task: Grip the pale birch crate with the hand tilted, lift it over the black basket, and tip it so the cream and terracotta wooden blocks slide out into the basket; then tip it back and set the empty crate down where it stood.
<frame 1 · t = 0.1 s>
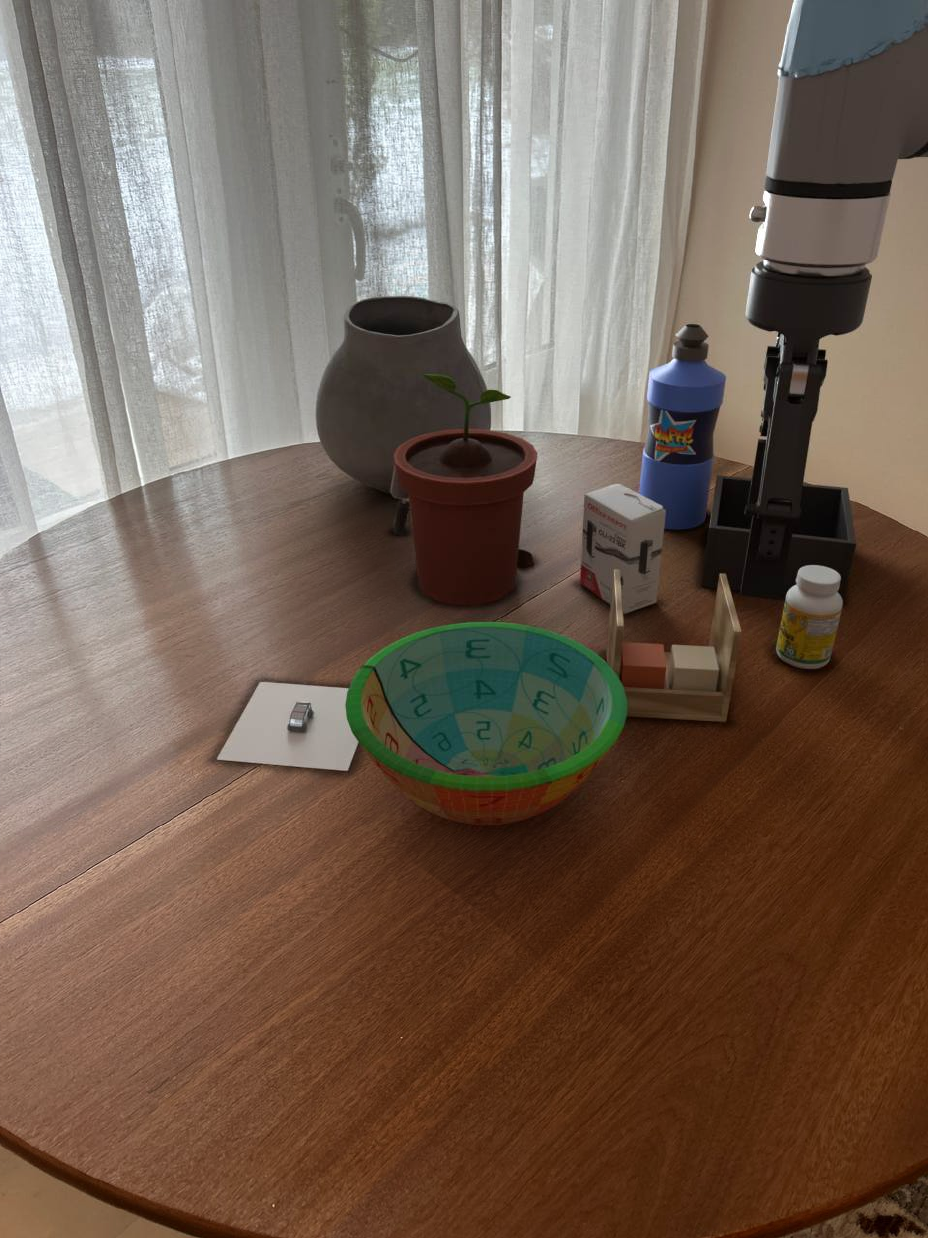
hand: (761, 553, 72), 20 cm above the table, tool pointing down, fingers open, 13 cm apart
ceramic pot: (406, 484, 135), on the table
terracotta block: (639, 688, 90), point 1 cm above the table, touching crate
white square sheet: (301, 725, 87), on the table
water bottle: (670, 516, 125), on the table
bowl: (485, 789, 79), on the table
ink box: (616, 594, 107), on the table
basket: (770, 564, 113), on the table
cream block: (690, 691, 90), point 1 cm above the table, touching crate
crate: (663, 686, 91), on the table, touching cream block, terracotta block
potted plant: (461, 570, 112), on the table
supplement bottle: (801, 657, 96), on the table
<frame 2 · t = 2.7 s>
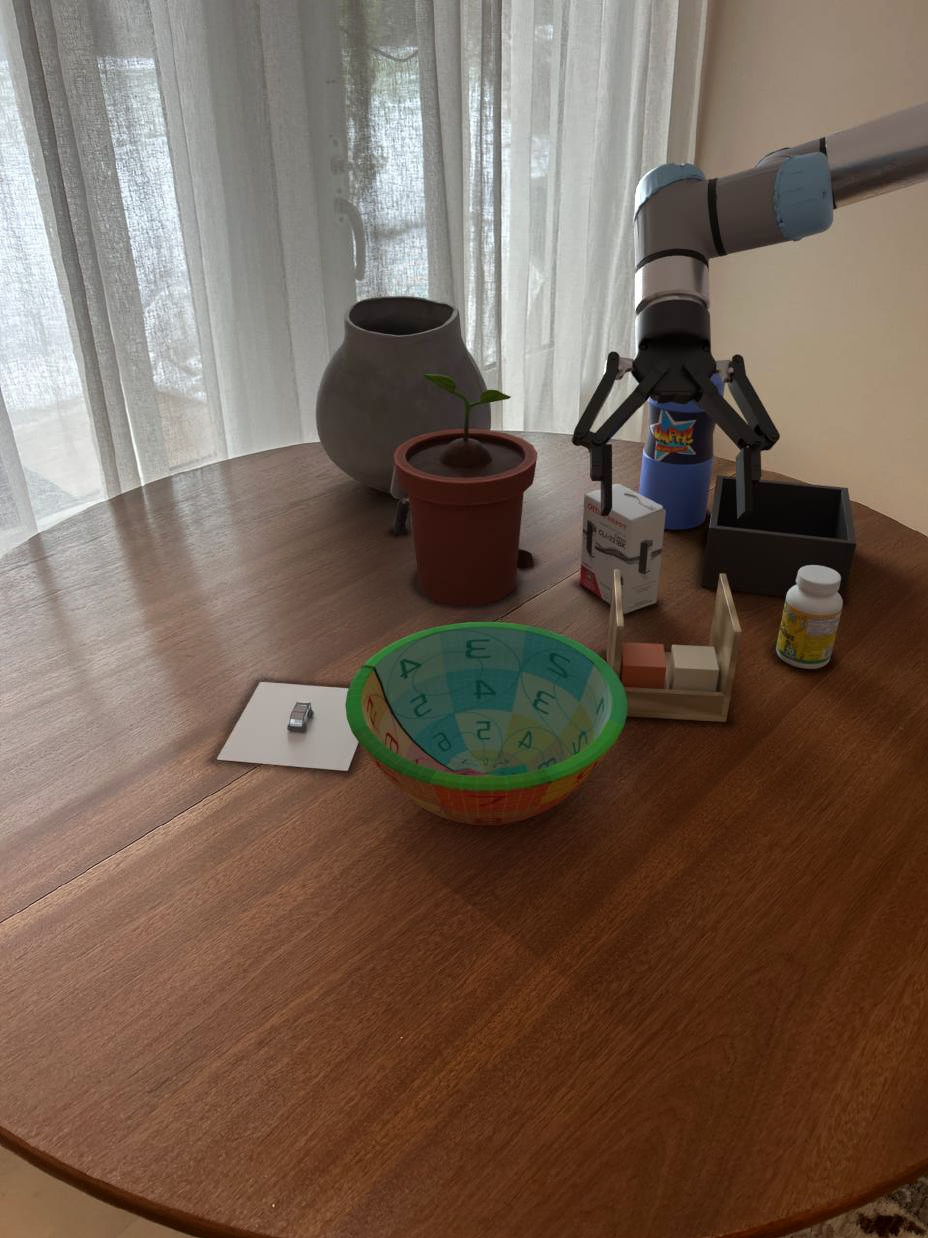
hand: (675, 513, 91), 15 cm above the table, tool tilted 45°, fingers open, 13 cm apart
nothing on the table moved.
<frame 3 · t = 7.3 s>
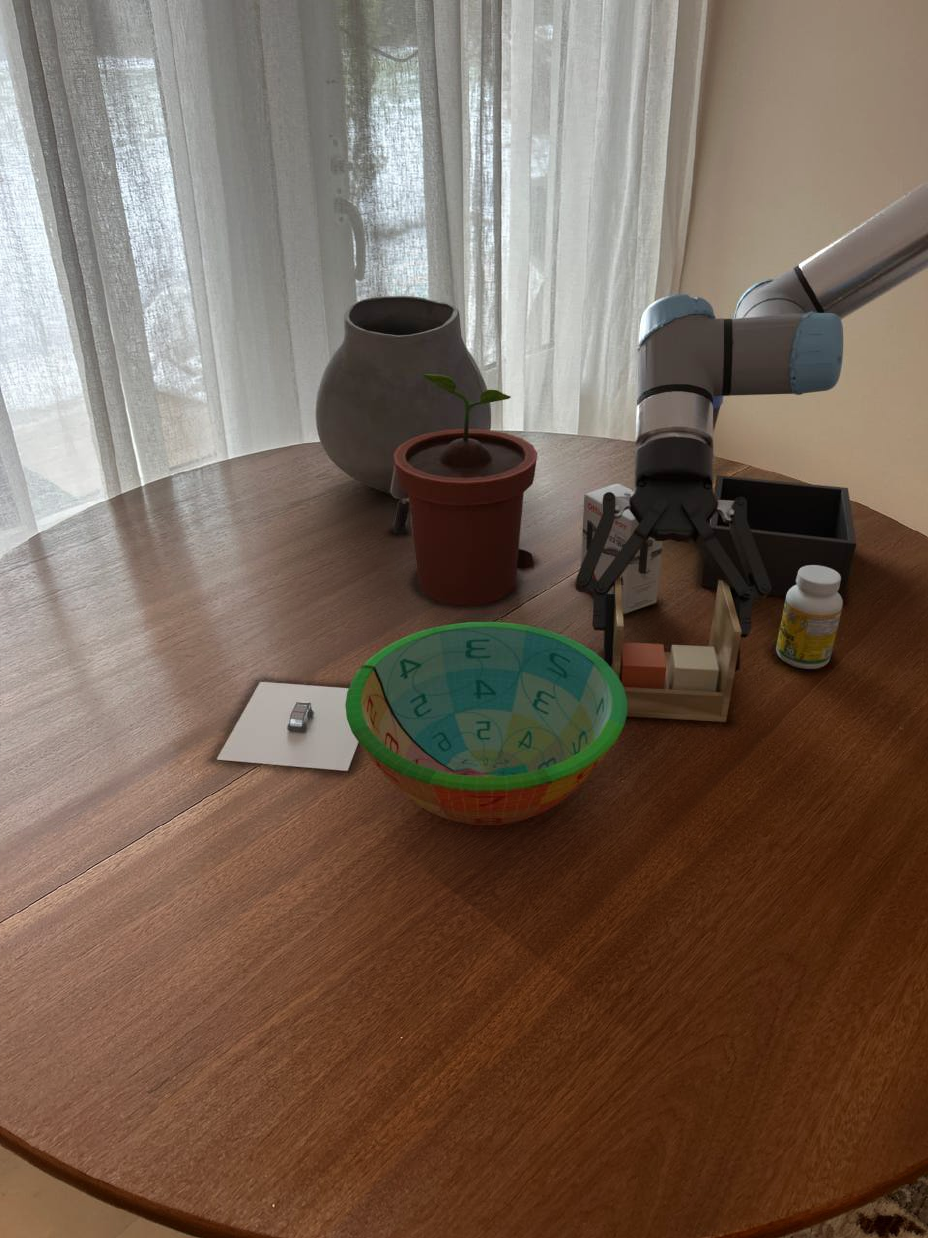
hand: (669, 667, 87), 4 cm above the table, tool tilted 45°, fingers closed on crate, 11 cm apart
crate: (663, 686, 91), on the table, touching cream block, gripper, terracotta block
everything else where it was.
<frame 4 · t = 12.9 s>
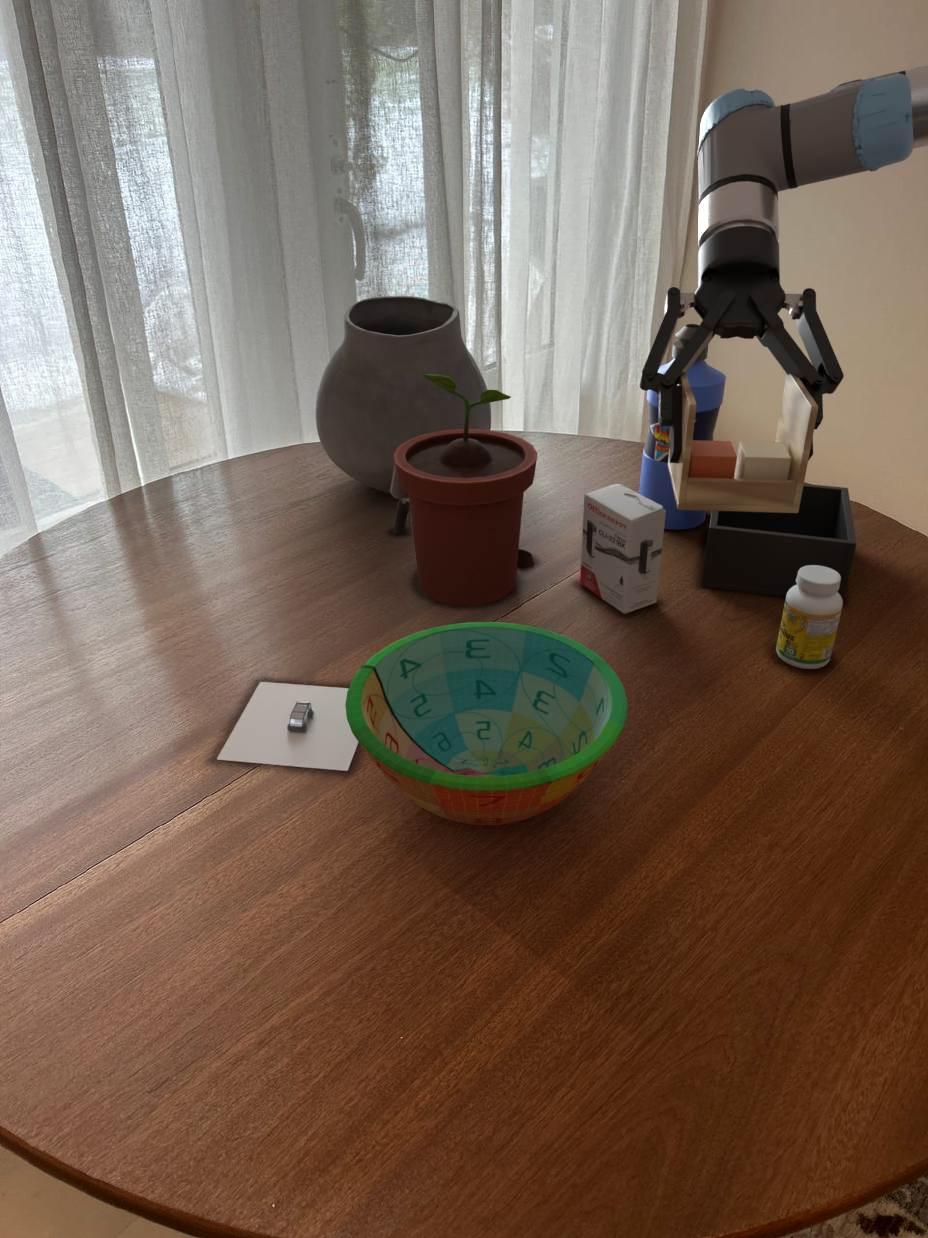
hand: (739, 458, 85), 22 cm above the table, tool tilted 45°, fingers closed on crate, 11 cm apart
terracotta block: (706, 488, 88), point 18 cm above the table, touching crate
cream block: (758, 489, 87), point 18 cm above the table, touching crate
crate: (729, 488, 89), point 17 cm above the table, touching cream block, gripper, terracotta block
everything else where it was.
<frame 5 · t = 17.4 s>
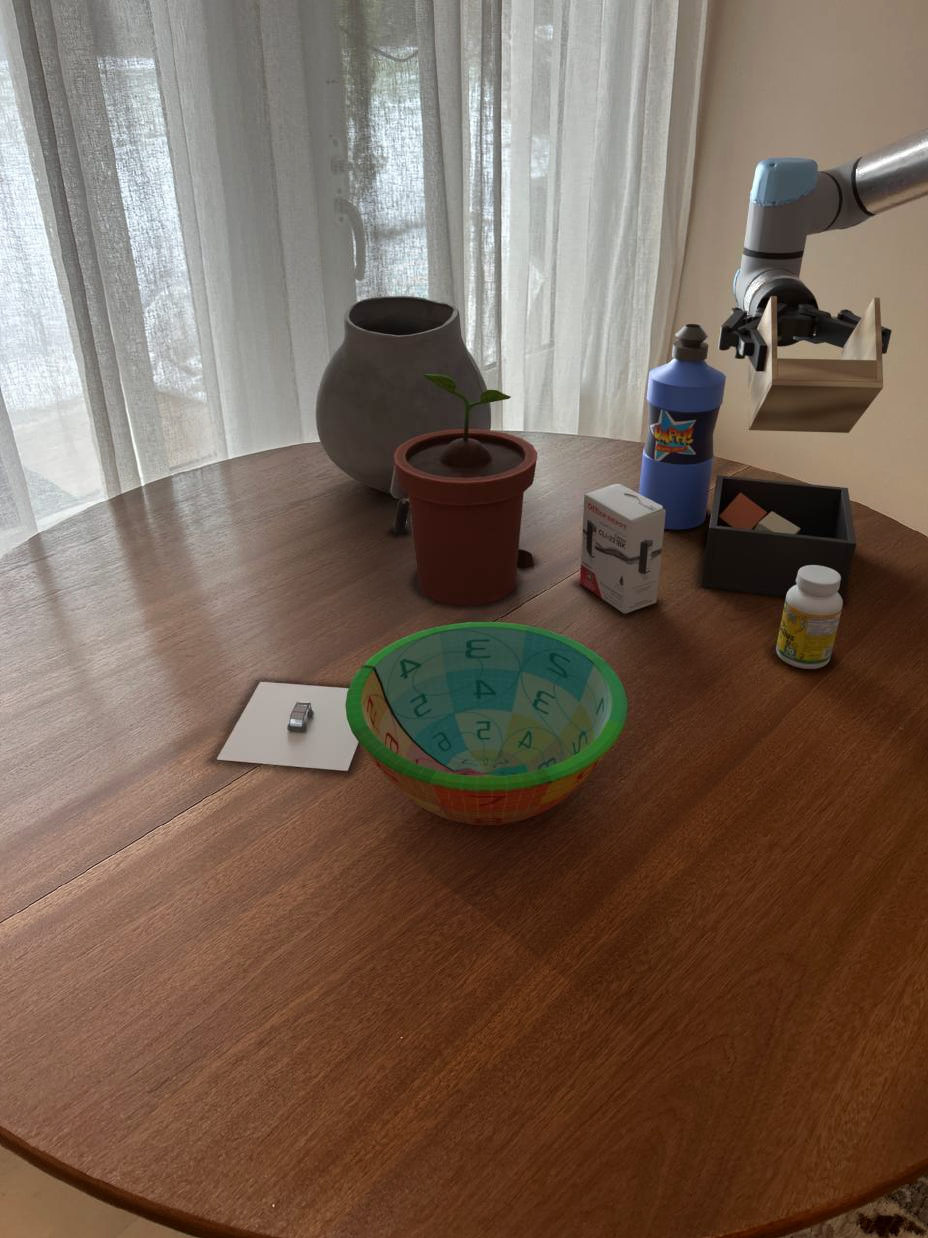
hand: (819, 359, 96), 26 cm above the table, tool horizontal, fingers closed on crate, 11 cm apart
terracotta block: (730, 531, 114), point 3 cm above the table, tilted 53°, touching basket
cream block: (764, 551, 113), point 1 cm above the table, tilted 18°, touching basket
crate: (812, 410, 97), point 21 cm above the table, tilted 45°, touching gripper
everything else where it was.
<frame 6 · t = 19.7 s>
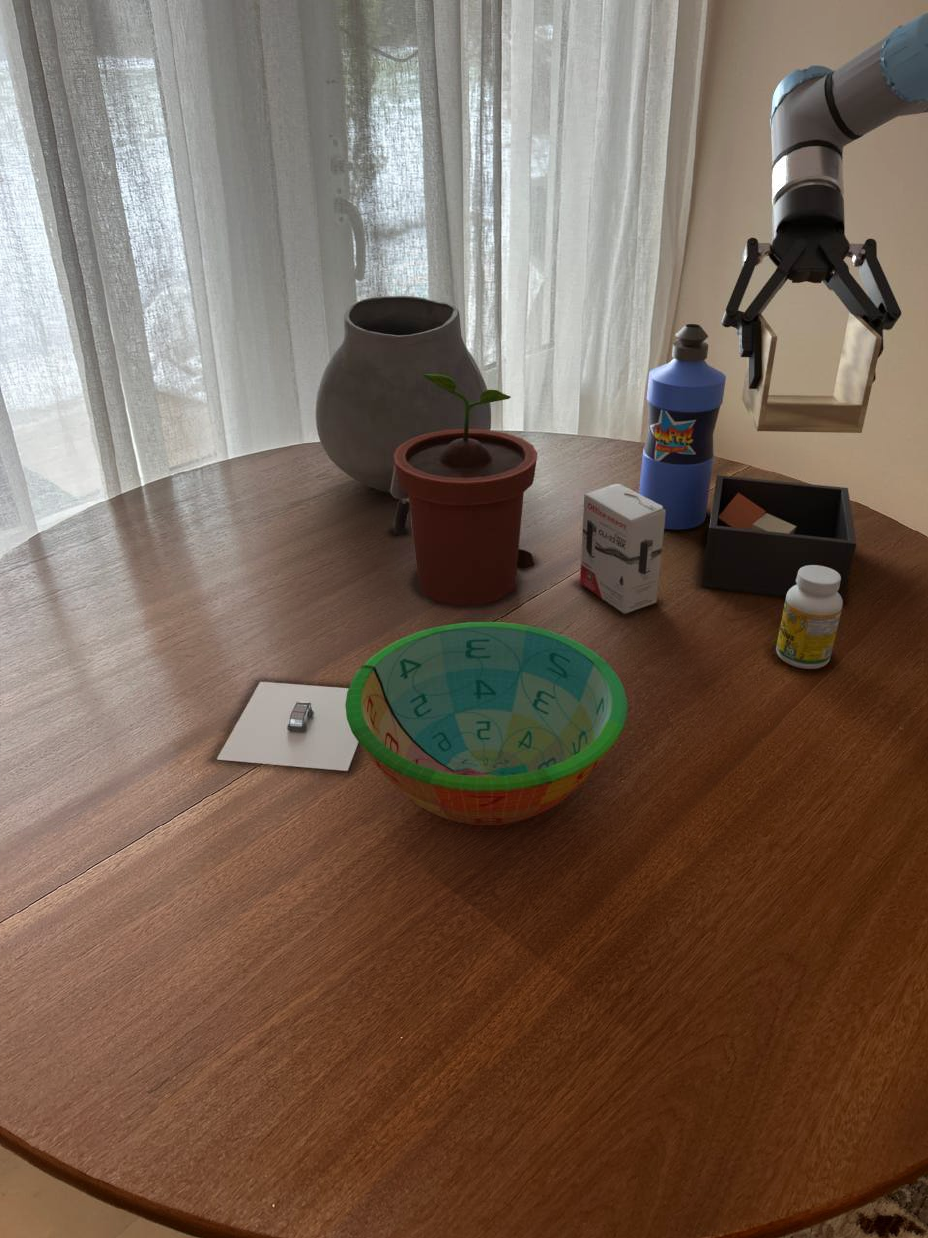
hand: (811, 384, 98), 23 cm above the table, tool tilted 45°, fingers closed on crate, 11 cm apart
terracotta block: (730, 531, 114), point 3 cm above the table, tilted 51°, touching basket, cream block
cream block: (764, 552, 113), point 1 cm above the table, tilted 10°, touching basket, terracotta block
crate: (798, 415, 103), point 19 cm above the table, touching gripper
everything else where it was.
when the fingers open (4 cm above the table, at t = 30.0 s): crate stays where it is, on the table.
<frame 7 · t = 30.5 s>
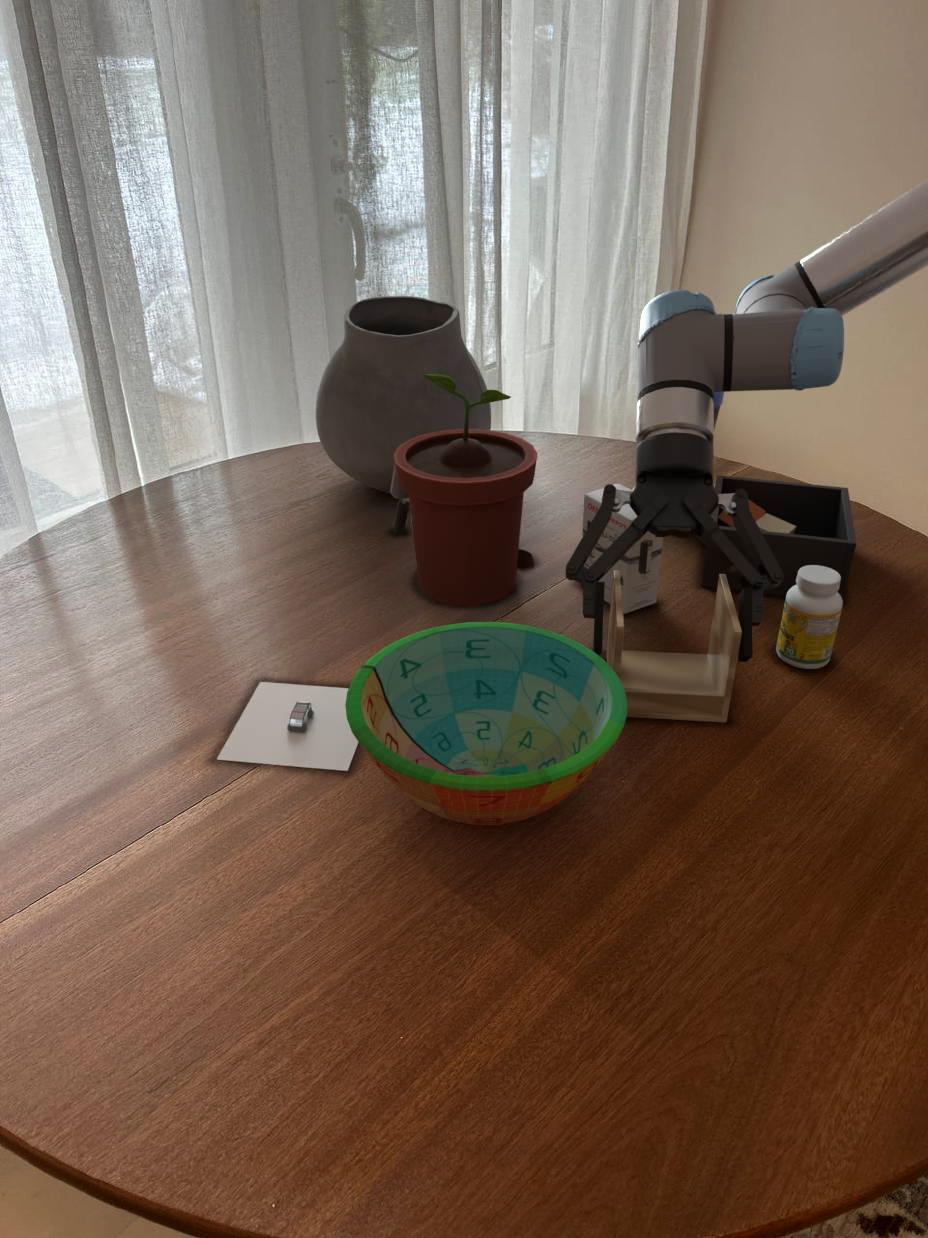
hand: (670, 656, 87), 5 cm above the table, tool tilted 45°, fingers open, 13 cm apart
crate: (663, 686, 91), on the table
everything else where it was.
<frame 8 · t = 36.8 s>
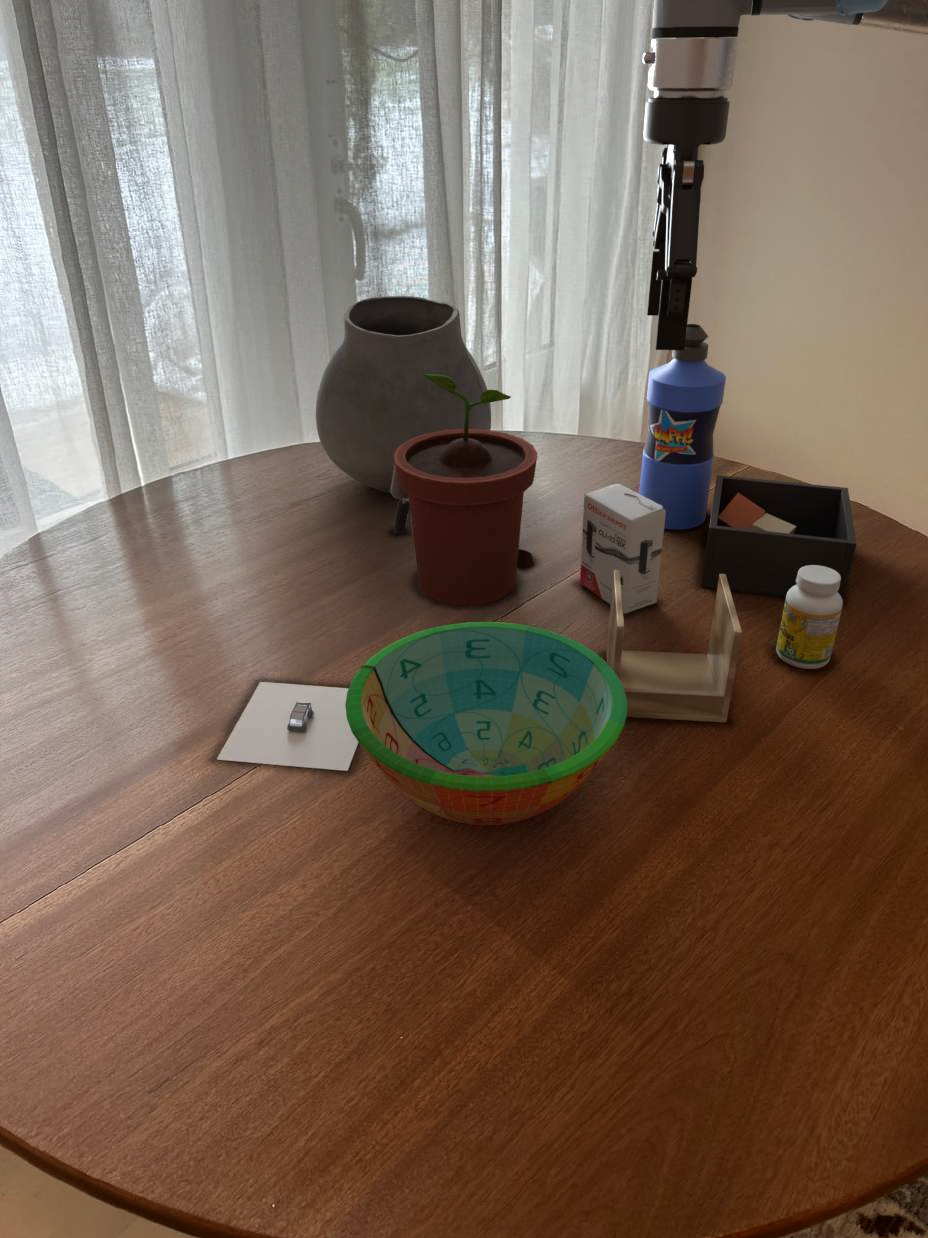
hand: (664, 331, 96), 29 cm above the table, tool pointing down, fingers open, 13 cm apart
nothing on the table moved.
at the end: cream block inside the target area in the basket (1.3 cm from its centre), point 0.9 cm above the basket's base; terracotta block inside the target area in the basket (5.7 cm from its centre), point 2.7 cm above the basket's base; crate tilted 0° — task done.
